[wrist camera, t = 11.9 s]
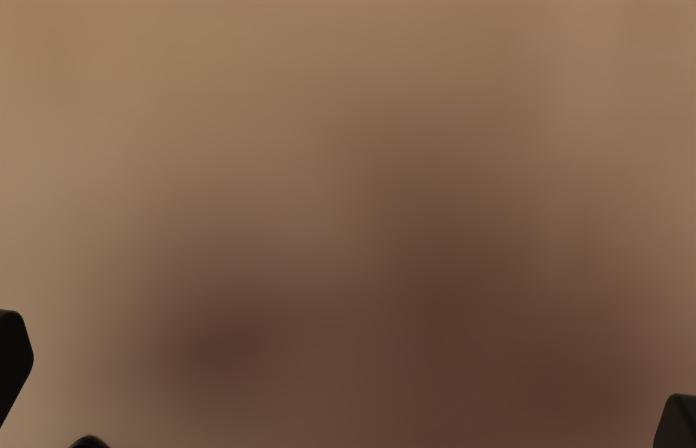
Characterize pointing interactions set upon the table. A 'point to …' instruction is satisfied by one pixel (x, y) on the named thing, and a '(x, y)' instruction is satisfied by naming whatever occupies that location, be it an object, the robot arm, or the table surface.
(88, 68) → the table surface
